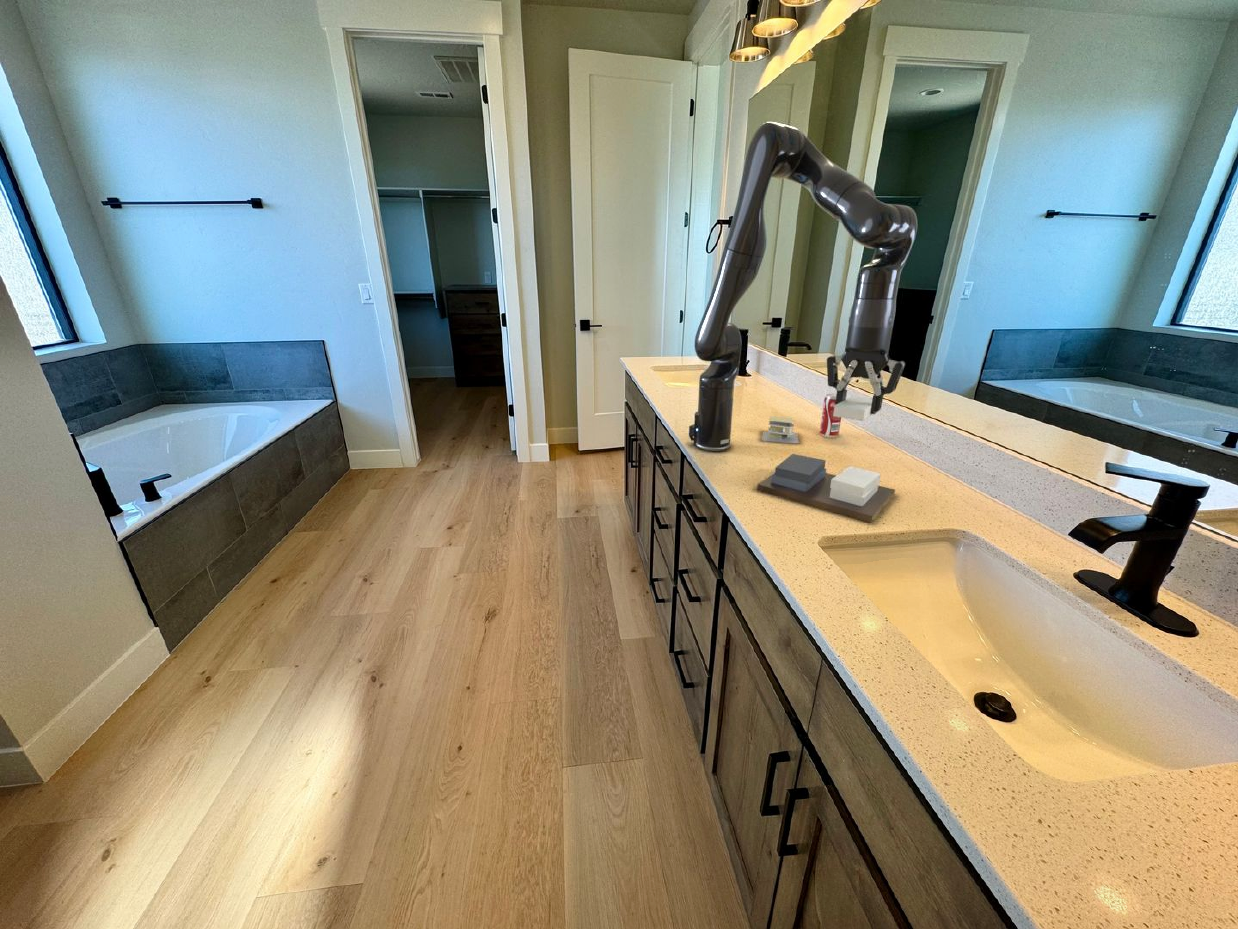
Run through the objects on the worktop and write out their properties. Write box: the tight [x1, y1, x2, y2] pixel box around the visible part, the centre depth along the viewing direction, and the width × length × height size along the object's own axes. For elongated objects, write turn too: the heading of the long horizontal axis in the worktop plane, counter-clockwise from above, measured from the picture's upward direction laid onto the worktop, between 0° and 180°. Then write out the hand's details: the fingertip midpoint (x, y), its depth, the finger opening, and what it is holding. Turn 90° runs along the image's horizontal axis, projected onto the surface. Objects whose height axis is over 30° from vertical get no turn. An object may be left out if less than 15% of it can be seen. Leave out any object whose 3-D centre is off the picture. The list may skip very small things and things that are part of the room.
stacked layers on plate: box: [761, 416, 800, 444], centre depth 142 cm, size 10×9×6 cm
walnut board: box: [756, 472, 896, 524], centre depth 108 cm, size 24×16×2 cm, turn 48°
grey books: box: [771, 453, 827, 492], centre depth 110 cm, size 8×11×4 cm
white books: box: [830, 466, 882, 506], centre depth 103 cm, size 7×10×4 cm
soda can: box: [819, 393, 842, 439], centre depth 143 cm, size 5×5×12 cm
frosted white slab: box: [833, 395, 873, 422], centre depth 98 cm, size 6×10×2 cm, turn 138°
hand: (856, 410), depth 98 cm, fingers closed on frosted white slab, 5 cm apart
